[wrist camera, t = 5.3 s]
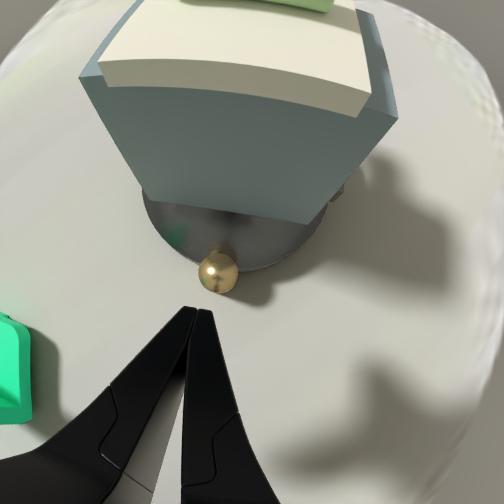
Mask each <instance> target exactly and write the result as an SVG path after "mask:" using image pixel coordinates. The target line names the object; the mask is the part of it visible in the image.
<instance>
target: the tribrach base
mask: <svg viewBox="0 0 504 504" xmlns="http://www.w3.org/2000/svg"><path fill="white" fill-rule="evenodd" d="M343 190H344V184H343V185H342V186H341V187H340V188H339V190H338V191H337V192H336V193H335V194H334V195H333V197H332V198H331V199H330V200H329V201H331V202H334V201H335V200H336V199H337V198H338V197H339V196H340V195H341V194H342V193H343ZM142 195H143V200H144V205H145V208H146V211H147V213H148V216H149V218H150V220H151V222H152V224H153V225H154V227H155V229H156V230H157V231H158V233H159V234H160V235H161V237H162V238H163V239H164V240H165V241H166V242H167V243H168V244H169V245H170V246H171V247H172V248H174V249H175V250H176V251H177V252H178V253H180V254H181V255H182V256H184V257H185V258H186V259H188V260H190V261H192V262H194V263H195V264H197V265H200V267H199V279H200V281H201V283H202V285H203V286H204V287H205V288H206V289H208V290H209V291H212V292H214V293H225V292H228V291H229V290H231V289H232V288H233V287H234V285H235V283H236V281H237V277H238V272H249V271H255V270H259V269H262V268H265V267H268V266H271V265H273V264H275V263H277V262H279V261H281V260H282V259H284V258H285V257H287V256H289V255H290V254H291V253H293V252H294V251H295V250H297V249H298V248H299V247H300V246H301V245H302V244H303V243H305V242H306V241H307V239H308V238H309V237H310V236H311V235H312V234H313V233H314V231H315V229H316V228H317V226H318V225H319V223H320V221H321V219H322V217H323V215H324V213H325V210H326V206H327V203H328V202H327V203H326V205H325V206H324V207H323V208H322V209H321V210H320V212H319V213H318V214H317V215H316V216H315V217H314V218H313V220H312V221H311V222H310V223H309V224H308V225H306V224H301V223H295V222H289V221H283V220H278V219H272V218H266V217H260V216H254V215H248V214H241V213H235V212H229V211H222V210H216V209H209V208H202V207H196V206H189V205H182V204H174V203H167V202H160V201H152V200H150V199H149V198H148V196H147V194H146V193H145V191H144V190H143V188H142Z"/></svg>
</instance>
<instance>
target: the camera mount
mask: <svg viewBox="0 0 504 504" xmlns="http://www.w3.org/2000/svg"><path fill="white" fill-rule="evenodd" d="M30 348H31V338H30V334H29V332H28V330H27V328H26V327H25V326H24V325H22V324H20V323H18V322H15V321H13V320H11V319H8V315H6V314H4V313H2V312H0V425H2V424H23V423H25V422H27V421H29V420H31V419H33V414H32V402H31V381H30Z"/></svg>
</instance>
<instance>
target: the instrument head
mask: <svg viewBox="0 0 504 504" xmlns="http://www.w3.org/2000/svg"><path fill="white" fill-rule="evenodd" d="M78 78H79V80H80V82H81V83H82V85H83V87H84V89H85V91H86V93H87V95H88V96H89V98H90V100H91V102H92V104H93V105H94V107H95V109H96V111H97V113H98V114H99V116H100V118H101V120H102V121H103V123H104V125H105V127H106V128H107V130H108V132H109V134H110V135H111V137H112V139H113V140H114V142H115V144H116V146H117V147H118V149H119V151H120V152H121V154H122V156H123V157H124V159H125V161H126V162H127V164H128V166H129V167H130V169H131V170H132V172H133V174H134V175H135V177H136V179H137V180H138V182H139V183H140V185H141V187H142V188H143V190H144V191H145V193H146V194H147V196H148V198H149V199H150V200H152V201H160V202H167V203H174V204H182V205H189V206H196V207H202V208H209V209H216V210H222V211H229V212H235V213H241V214H248V215H254V216H260V217H266V218H272V219H278V220H283V221H289V222H295V223H301V224H306V225H308V224H309V223H310V222H311V221H312V220H313V218H314V217H315V216H316V215H317V214H318V213H319V212H320V210H321V209H322V208H323V207H324V206H325V205H326V203H327V202H328V201H329V200H330V199H331V198H332V197H333V195H334V194H335V193H336V192H337V191H338V190H339V188H340V187H341V186H342V185H343V184H344V183H345V181H346V180H347V179H348V178H349V177H350V176H351V174H352V173H353V172H354V171H355V170H356V168H357V167H358V166H359V165H360V164H361V163H362V161H363V160H364V159H365V158H366V157H367V155H368V154H369V153H370V152H371V151H372V150H373V148H374V147H375V146H376V145H377V144H378V142H379V141H380V140H381V139H382V138H383V136H384V135H385V134H386V133H387V132H388V130H389V129H390V128H391V127H392V125H393V124H394V123H395V122H396V121H397V119H398V113H397V107H396V101H395V96H394V91H393V86H392V82H391V77H390V73H389V69H388V64H387V60H386V57H385V53H384V49H383V45H382V42H381V38H380V35H379V32H378V28H377V25H376V22H375V19H374V16H373V14H370V13H367V12H365V11H362V10H359V9H356V8H355V6H354V2H353V0H137V1H136V2H135V3H134V4H133V5H132V6H131V7H130V8H129V10H128V11H127V12H126V13H125V14H124V15H123V17H122V18H121V19H120V20H119V21H118V23H117V24H116V25H115V26H114V28H113V29H112V30H111V31H110V33H109V34H108V35H107V37H106V38H105V39H104V40H103V42H102V43H101V45H100V46H99V47H98V49H97V50H96V51H95V53H94V54H93V56H92V57H91V59H90V60H89V62H88V63H87V65H86V66H85V68H84V69H83V71H82V72H81V74H80V75H79V77H78Z"/></svg>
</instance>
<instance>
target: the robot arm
mask: <svg viewBox="0 0 504 504" xmlns="http://www.w3.org/2000/svg"><path fill="white" fill-rule="evenodd" d="M183 393H184V404H183V425H182V456H181V486H182V487H181V504H281V503H280V502H279V500H278V499H277V497H276V495H275V493H274V492H273V490H272V488H271V486H270V484H269V482H268V480H267V478H266V476H265V475H264V473H263V471H262V469H261V467H260V465H259V463H258V461H257V459H256V457H255V454H254V452H253V450H252V448H251V445H250V443H249V440H248V437H247V435H246V432H245V429H244V426H243V423H242V419H241V416H240V413H238V412H239V410H238V406H237V403H236V399H235V396H234V392H233V389H232V385H231V382H230V378H229V375H228V371H227V367H226V363H225V360H224V356H223V352H222V348H221V344H220V341H219V337H218V333H217V329H216V325H215V321H214V317H213V313H212V311H211V310H205V309H198V310H197V309H196V308H194V307H188V306H183V307H182V308H181V309H180V310H179V311H178V312H177V313H176V314H175V315H174V316H173V317H172V318H171V319H170V321H169V322H168V323H167V324H166V325H165V326H164V327H163V328H162V329H161V330H160V331H159V332H158V333H157V334H156V335H155V336H154V337H153V338H152V340H151V341H150V342H149V343H148V344H147V345H146V346H145V347H144V348H143V349H142V350H141V351H140V352H139V353H138V354H137V355H136V356H135V358H134V359H133V360H132V361H131V362H130V363H129V364H128V365H127V366H126V367H125V368H124V369H123V370H122V371H121V372H120V374H119V375H118V376H117V377H116V378H115V379H114V380H113V381H112V382H111V383H110V386H107V387H106V388H105V389H104V391H103V392H102V393H101V394H100V395H99V396H98V397H97V398H96V399H95V400H94V401H93V402H92V403H91V404H90V405H89V406H88V407H87V408H86V409H85V410H83V411H82V412H81V413H80V414H79V415H78V416H77V417H75V418H74V419H73V420H72V421H71V422H69V423H68V424H67V425H66V426H65V427H63V428H62V429H61V430H60V431H58V432H57V433H56V434H55V435H54V436H52V437H51V438H50V439H49V440H47V441H46V442H45V443H44V444H42V445H41V446H39V447H38V448H36V449H34V450H32V451H29V452H27V453H24V454H20V455H17V456H13V457H9V458H5V459H1V460H0V504H151V501H152V497H153V493H154V490H155V486H156V483H157V479H158V476H159V472H160V469H161V465H162V462H163V459H164V455H165V452H166V448H167V445H168V442H169V438H170V435H171V432H172V428H173V425H174V422H175V419H176V415H177V412H178V409H179V405H180V402H181V399H182V396H183Z"/></svg>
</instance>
